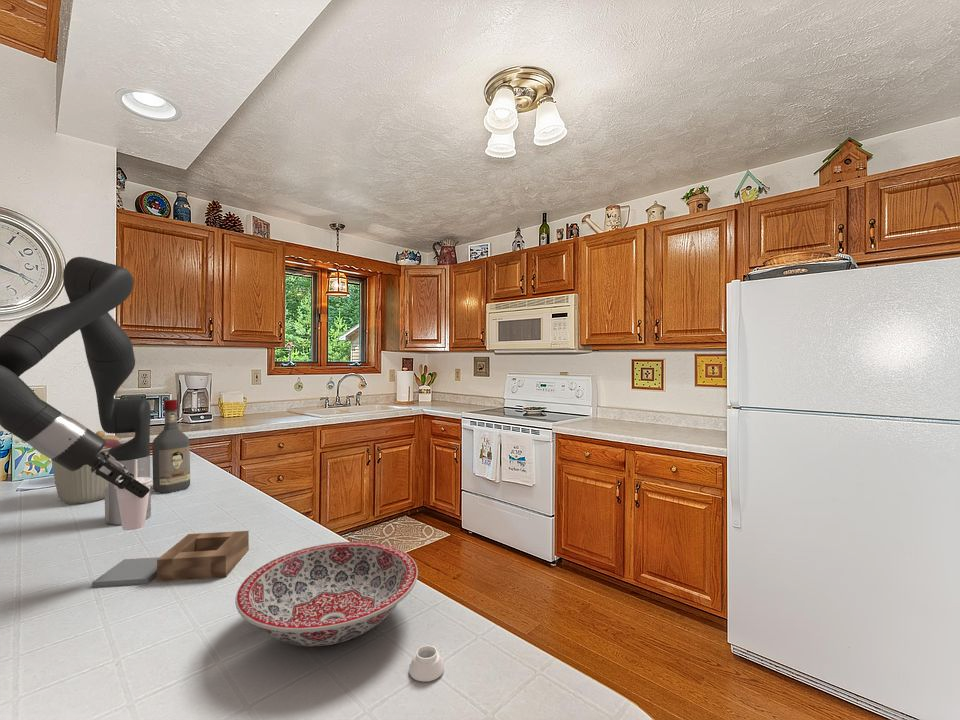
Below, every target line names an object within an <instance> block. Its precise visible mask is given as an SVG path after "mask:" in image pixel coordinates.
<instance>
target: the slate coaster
mask: <svg viewBox="0 0 960 720" xmlns="http://www.w3.org/2000/svg"><path fill="white" fill-rule="evenodd" d="M160 557H161V556H158V557H157V556H156V557H140V558H139V557H138V558H125V559H122V560H121V561H119V562H118V563H117V564H116V565H115V566H113V567H111V568H110V569H109V570H107V571H106V572H104V573H103V574H102V575H100V576H99V577H98V578H96V579H95V580H93V581H92V582H91V583H92V584H91V585H92V588H99V587H101V588H102V587H117V586H127V585H128V586H129V585H147V584H149V583H150V582H151V581H152V580H153V579H154V578H157V559H158V558H160Z"/></svg>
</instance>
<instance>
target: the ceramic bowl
mask: <svg viewBox="0 0 960 720" xmlns="http://www.w3.org/2000/svg"><path fill="white" fill-rule="evenodd" d="M418 570H419V569H418V566H417V563H416V562H415V560H414V558H413V557H412V556H411V555H409V554H408V553H406V552H404V551H403V550H401V549H399V548H396V547H393V546H390V545H387V544H382V543H378V542H377V543H376V542H371V541H370V542H368V541H344V542H332V543H325V544H319V545H315V546H311V547H305V548H302V549H298V550H295V551H292V552H290V553H287V554H283V555H282V556H279V557H278V558H277V557H276V558H275V559H273V560H271V561H269V562H267V563H265V564H263V565H262V566H260V567H259V568H257V569H255V571H252V572H251V574H249V575H248V576H247V577H246V578H245V579H244V580H243V582H241V584H240V586H238V587H239V588H238V589H237V591H236V595H235V602H234V604H235V607H236V609H237V611H238V612H237V613H238V614H239V615H240V616H241V617H242V618H243V619H244V620H245V621H246V622H248V623H250V624H252V625H253V626H256V627H258V628H261V629H262V630H263V631H264V632H266V633H267V634H268V635H270V636H271V637H273V638H275V639H277V640H278V641H280V642H284V643H287V644H291V645H294V646H301V647H325V646H331V645H335V644H339V643H344V642H347V641H349V640H352V639H355V638H357V637H359V636H362V635H363V634H365V633H367V632H369V631H370V630H372V629H374V628H375V627H377V625H379V624H380V623H381V622H383V621H384V619H386V618H387V617H388V616H389V615H390V614H391V613H392V611H393V610H394V609H395V607H397V605H398V604H399V603H400V602H401V601H403V600H404V599H405V598H406V597H407V596H408V595H409V594H410V593H411V591H412V590H413V589H414V587H415V585H416V584H417V580H418V576H419V571H418Z"/></svg>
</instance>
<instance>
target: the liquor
mask: <svg viewBox="0 0 960 720" xmlns="http://www.w3.org/2000/svg"><path fill="white" fill-rule="evenodd" d="M163 410H164V426H163V429H162V430H161V432H159V434H157V436H156V437H155V438H154V439H153V441H152V443H151V445H152V446H151V447H152V448H151V450H152V458H151V459H152V490H153V491H154V492H156V493H158V492H159V493H158V494H160V493H165V494H172V492H173V493H176V491H177V492H181V491H185V490H187V489H189V488H188V487H190V486H191V453H190V452H191V448H190V446H191V443H190V442H191V441H190V439H189V437H188V436H187V435H186V434H185V433H184V432H183V431H182V430H181V429H180V428H179V426H178V417H177V416H178V412H177V410H178V400H177V399H167V400H166V399H165V400H163ZM180 490H181V491H180Z"/></svg>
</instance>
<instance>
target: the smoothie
mask: <svg viewBox="0 0 960 720" xmlns="http://www.w3.org/2000/svg"><path fill="white" fill-rule="evenodd" d="M134 479H135V480H137V481H138V482H140V483H141V484H143V485H145V486H146V487H148V488H149V489H150V485H151V486H152V485H153V477H151V476H150V477H137V459H135V460H134ZM122 481H123V480H120V481H119V482H122ZM114 489H116V492H117V498H118V504H119V510H120V516H121V522H122V525H121V527H122V530H123V531H134V530H138V529H142V528H143V527H145V526H146V520H147V519H146V513H147V506H148V498H149V492H148V493H147V494H146V495H145V496H144V497H143V498H139V497H137V496H136V495H134V494H133V493H131V492H129V491H128V490H126V489H119V488H118V487H117V486H116V485H114Z"/></svg>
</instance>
